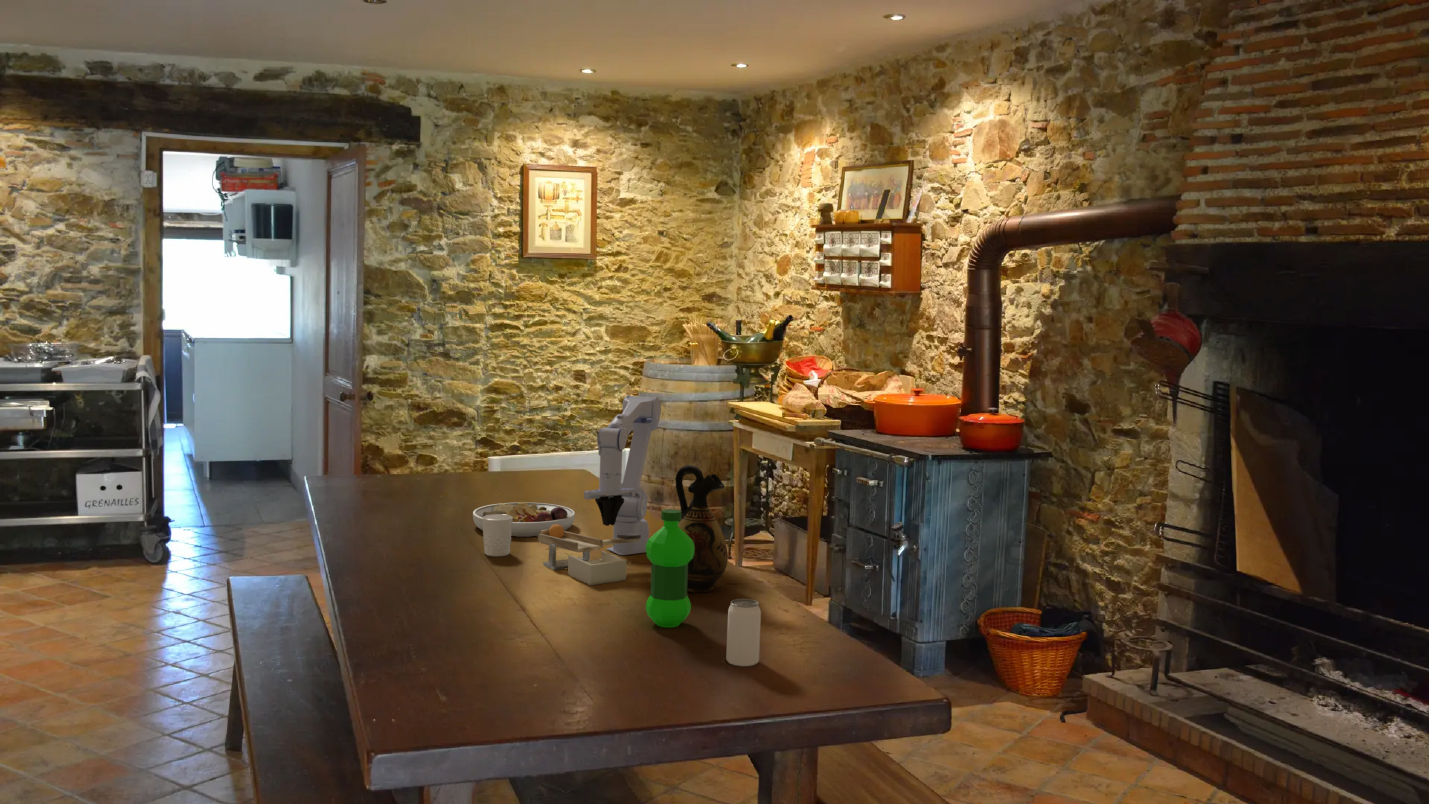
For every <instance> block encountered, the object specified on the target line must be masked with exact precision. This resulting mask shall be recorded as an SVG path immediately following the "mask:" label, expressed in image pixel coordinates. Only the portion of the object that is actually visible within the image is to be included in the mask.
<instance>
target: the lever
mask: <svg viewBox="0 0 1429 804" xmlns="http://www.w3.org/2000/svg"><path fill="white" fill-rule="evenodd" d="M563 529H564V528H563ZM639 538H641V535H639V534H634V533H627V534H618V535H617V539H613V538H610V539H600V538H598V537H597V538H596V537H593V536H588V535H584V534H579V533H575V532H571V531H567V530H565V531H564V535H563V536H562V538H556V537H552V536H550V535H549V530H541V534H538V536H537V541H538V542H539V543H541V544H543V545H547V546H549V544H555V545H556V548H559V549H562V550H563V549H564V550H567V551H570V552H575V553H583V552H586V551H590V552H595V551H600V550H601V548H603V547H604V546H610V545H613V544H620V543H628V542H636V541H639Z"/></svg>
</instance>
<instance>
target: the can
mask: <svg viewBox="0 0 1429 804" xmlns="http://www.w3.org/2000/svg"><path fill="white" fill-rule="evenodd" d="M759 605H760V602H759V601H757V600H755V599H749V598H736V599H733V600H731V601H730V605H729V607H728V609H727V626H726V627H727V631H726V655H725V656H726V657H725V659H726V661H727V662H728V664H729V665H731V666H735V667H740V668H745V667H746V668H747V667H748V668H749V667H753V666H756V665H757V664H758V663H759V661H760V643H761V638H760V637H761V624H762V623H761V621H762V620H761V618H762V615H761V614H762V611H761V608H760V606H759Z"/></svg>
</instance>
